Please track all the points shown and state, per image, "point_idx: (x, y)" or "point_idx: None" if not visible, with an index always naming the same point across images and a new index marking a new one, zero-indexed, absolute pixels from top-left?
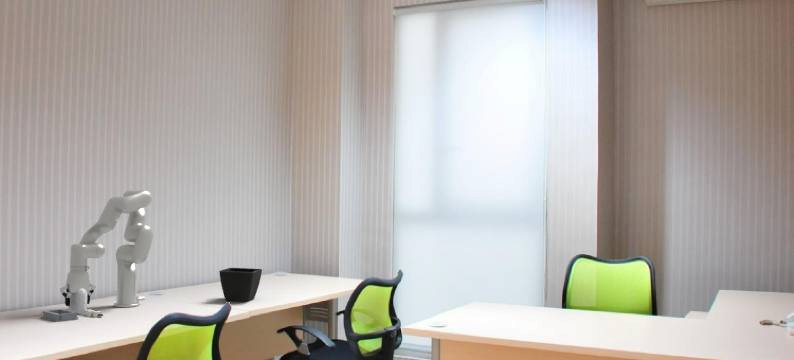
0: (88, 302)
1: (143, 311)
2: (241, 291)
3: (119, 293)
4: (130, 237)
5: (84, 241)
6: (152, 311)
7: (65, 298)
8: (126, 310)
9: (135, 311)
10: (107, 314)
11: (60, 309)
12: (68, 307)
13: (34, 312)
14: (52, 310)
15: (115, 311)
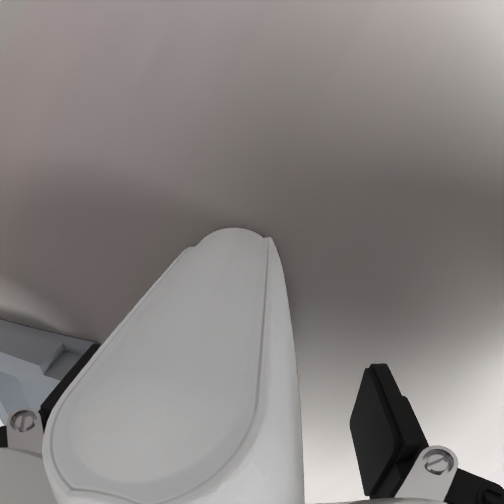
0: (356, 436)
1: (489, 474)
2: None
3: None
4: None
5: None
6: (494, 482)
7: (43, 419)
8: (501, 426)
9: (482, 465)
10: (349, 485)
11: (50, 392)
12: (172, 266)
13: (19, 36)
14: (6, 373)
15: (457, 431)
